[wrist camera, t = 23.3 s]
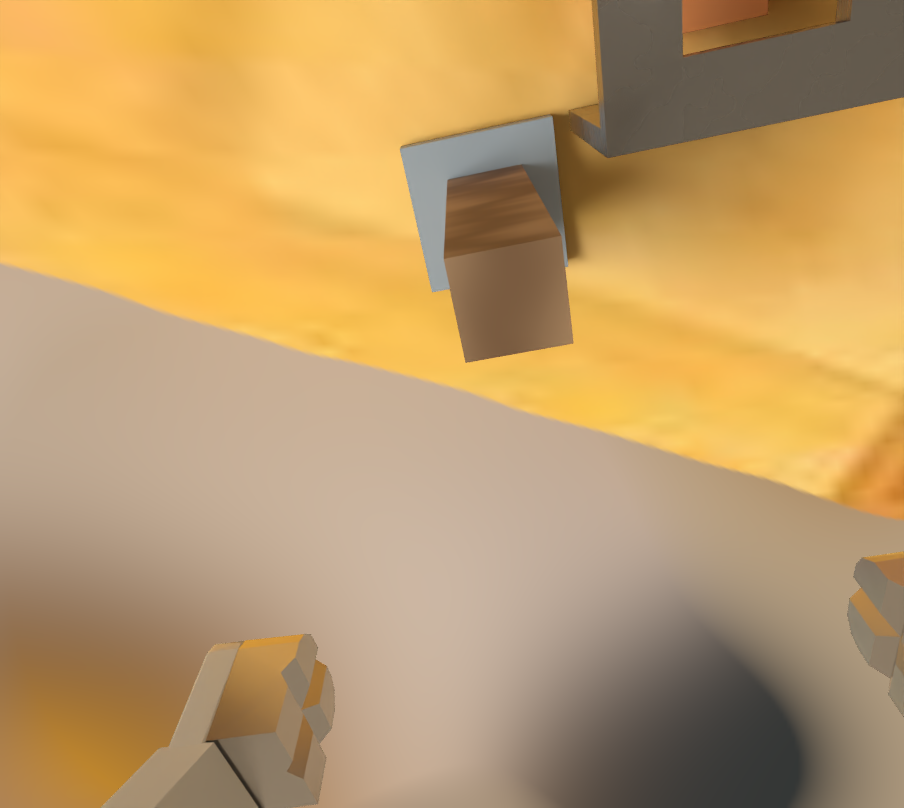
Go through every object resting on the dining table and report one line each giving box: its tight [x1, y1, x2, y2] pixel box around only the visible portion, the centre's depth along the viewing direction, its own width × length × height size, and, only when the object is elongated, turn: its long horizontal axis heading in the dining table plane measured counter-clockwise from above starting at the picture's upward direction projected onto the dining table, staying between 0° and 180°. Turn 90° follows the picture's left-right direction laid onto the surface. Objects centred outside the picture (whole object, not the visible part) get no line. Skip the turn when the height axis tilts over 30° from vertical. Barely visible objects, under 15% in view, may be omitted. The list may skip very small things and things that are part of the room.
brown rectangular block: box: [444, 164, 573, 363], centre depth 28 cm, size 4×4×14 cm
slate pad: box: [400, 114, 568, 292], centre depth 34 cm, size 8×8×1 cm
